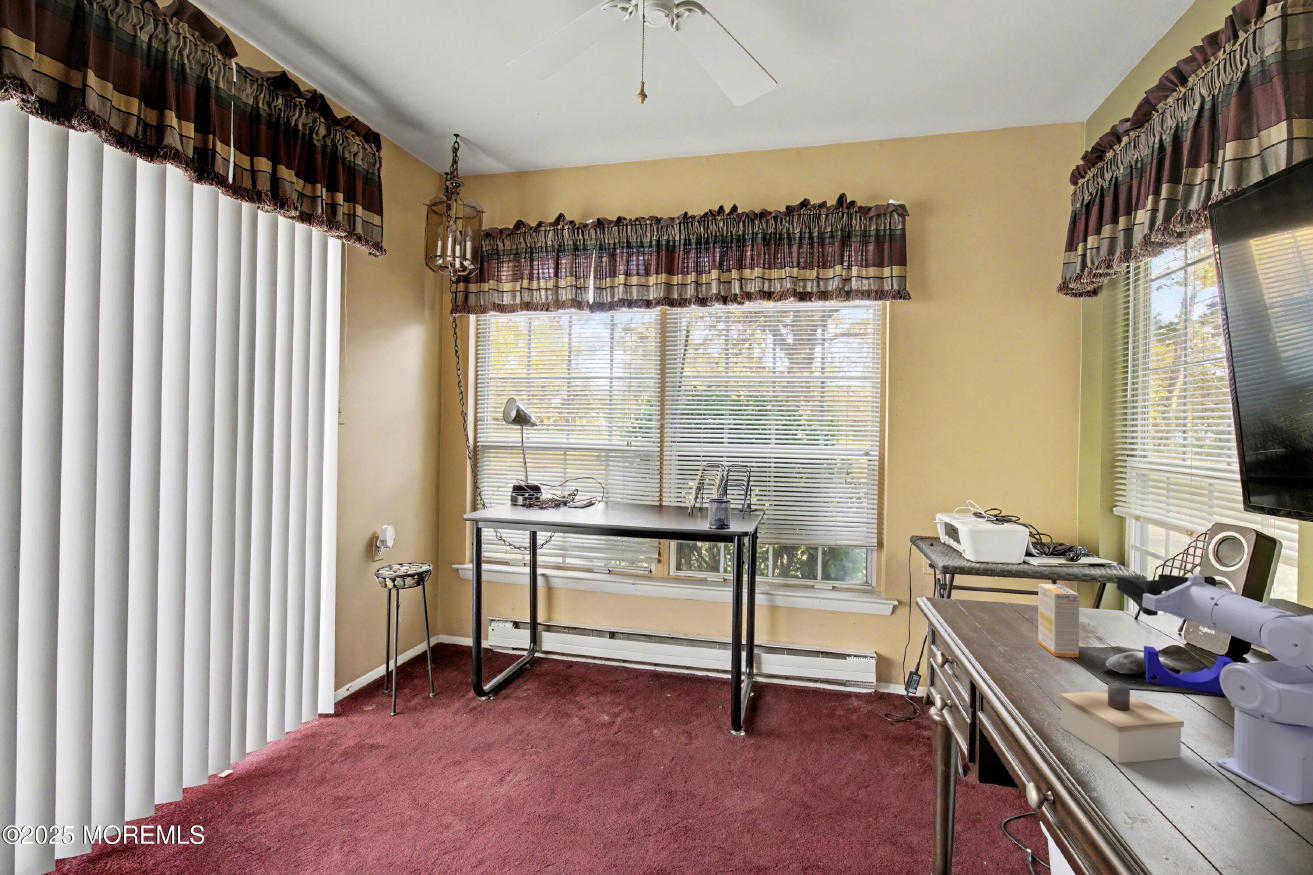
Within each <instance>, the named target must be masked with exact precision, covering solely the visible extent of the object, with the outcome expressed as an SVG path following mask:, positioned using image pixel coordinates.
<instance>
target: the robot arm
mask: <svg viewBox="0 0 1313 875" xmlns="http://www.w3.org/2000/svg"><path fill="white" fill-rule="evenodd" d="M1157 577H1158V578H1157V579H1150V580H1144V579H1137V578H1132V577H1128V576H1117V581H1116V589H1117V590H1118V591H1119V592H1121V593H1123V594H1124V595H1125V596H1126V597H1128V598H1129V599H1131V601H1133V602H1134V604H1136V605H1137V606H1138V608H1139V609H1140V611H1141V612H1142V614H1144V615H1145V616H1148V617H1149V616H1150V617H1154V616H1158V614H1159V612H1163V613H1166V614H1169V615H1172V616H1175V617H1178V618H1181V619H1183V620H1187V621H1189V622H1195V623H1199V624H1201V625H1203V626H1206V627H1209V628H1211V629H1214V630H1217V631H1219V632H1222V633H1223V634H1224V633H1225V634H1227V635H1230V636H1232V637H1234V638H1237V639H1239V640H1243V641H1245V642H1248V643H1250V644H1253V645H1255V646H1258V647H1262V648H1264V649H1265V650H1266V651H1267V652H1268V654H1270V655H1271V656H1272V657H1273V658H1275V659H1276V660H1275V661H1274V660H1273V661H1257V662H1246V663H1245V662H1234V663H1230V664H1228V665H1226V666H1225V667H1224V668H1223V669H1222V670H1221V673H1220V685H1221V688H1222V690H1223V692H1224V694H1223V695H1224V696H1225V697H1226V698H1227V699H1228V700H1229V702H1230V706H1231V707H1232V708H1234V722H1233V723H1234V730H1233V732H1234V734H1233V739H1234V741H1233V757H1229V758H1228V757H1227V758H1220V759H1219V758H1217V759H1215V764H1216V765H1218V766H1220V767H1222V768H1224V769H1226V770H1228V771H1230V772H1232V773H1234V774H1235V775H1237V776H1238V777H1241V778H1242V779H1245V780H1247V781H1249V782H1251V783H1253V784H1255V785H1256V786H1258V787H1260V788H1262V789H1264V790H1266V791H1267V792H1270V793H1272V795H1273V794H1274V795H1275V796H1276V797H1279V798H1281V799H1283V800H1285V801H1286V802H1288V803H1290V802H1291V803H1290V804H1294V805H1303V804H1310V803H1311V804H1312V803H1313V614H1306V615H1302V616H1299V615H1298V614H1297V613H1293V612H1290V611H1287V610H1284V609H1282V608H1278V607H1275V606H1273V605H1270V604H1268V603H1264V602H1261V601H1257V600H1256V599H1252V598H1250V597H1249V598H1248V597H1245V596H1243V595H1240V594H1239V592H1238V591H1235V590H1232V589H1228V588H1227V587H1226V588H1225V587H1222V588H1220V587H1217V579H1216V578H1215V577H1214V576H1212V575H1210V576H1209V575H1208V576H1204V575H1201V574H1198V573H1197V574H1195V573H1194V574H1189V576H1184V575H1183V576H1182V575H1175V574H1174V575H1173V574H1168V573H1160V574H1158V576H1157ZM1163 591H1165V592H1163Z"/></svg>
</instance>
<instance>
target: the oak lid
mask: <svg viewBox="0 0 1313 875" xmlns="http://www.w3.org/2000/svg"><path fill="white" fill-rule="evenodd" d="M1059 700H1061V701H1062V700H1063V701H1064V702H1066V703H1068V704H1070V705H1071V706H1073V707H1075V708H1077V709H1078V710H1080V711H1082V712H1084V713H1085V714H1087V715H1089V716H1091V717H1093V718H1094V719H1096V720H1098V721H1100V722H1101V723H1103V724H1105V725H1107V726H1108V727H1110V728H1112V729H1114V730H1115V731H1117V732H1130V731H1142V730H1154V729H1165V728H1177V727H1181V728H1184V727H1185V726H1184V725H1185V722H1184V720H1182V719H1180V718H1177V717H1175V716H1173V715H1171V714H1169V713H1168V712H1166V711H1163V710H1162V709H1159V708H1158V707H1155V706H1153V705H1151V704H1149V703H1147V702H1145V701H1143V700H1141V699H1139V698H1136V697H1134V696H1133V695H1131V689H1130V687H1128V686H1126V685H1123V684H1120V683H1112V682H1111V683H1108V684H1107V690H1106V689H1105V690H1093V691H1080V692H1066V693H1059Z"/></svg>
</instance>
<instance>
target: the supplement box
mask: <svg viewBox="0 0 1313 875" xmlns="http://www.w3.org/2000/svg"><path fill="white" fill-rule="evenodd" d="M1037 591H1038V599H1037V600H1038V602H1037V603H1038V605H1037V606H1038V608H1037V610H1038V613H1037V614H1038V615H1037V616H1038V617H1037V619H1038V620H1037V621H1038V623H1037V624H1038V626H1037V627H1038V630H1037V631H1038V633H1037V635H1038V636H1037V638H1038V639H1037V640H1038V641H1037V644H1040V646H1041V647H1042V648H1044V649H1046V650H1047V651H1048V652H1049V653H1051V654H1052V655H1053V656H1054V657H1059V658H1061V657H1062V658H1075V657H1077V658H1079V656H1080V594H1079V593H1077V592H1075V591H1074V590H1071V589H1070V588H1068V587H1067V586H1064V585H1062V584H1056V583H1055V584H1054V583H1038V590H1037ZM1077 658H1076V659H1077Z"/></svg>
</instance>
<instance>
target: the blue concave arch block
mask: <svg viewBox="0 0 1313 875" xmlns="http://www.w3.org/2000/svg"><path fill="white" fill-rule="evenodd" d="M1144 662H1145V666H1146V675H1145V677H1146V680H1147V681H1146V680H1145V681H1146V682H1147V683H1148V682H1151V683H1150V684H1154V683H1155V684H1156V685H1163V686H1168V687H1174V688H1180V689H1186V690H1187V689H1188V690H1193V691H1194V690H1195V691H1199V692H1200V691H1201V692H1206V693H1211V694H1212V693H1214V694H1220V695H1225V694H1224V692H1223V690H1222V688H1221V685H1220V673H1221V670H1222V669H1223V668H1224V667H1225V666H1226V665H1228V664H1230V663H1235V662H1234V661H1233V659H1231V658H1230V657H1229V656H1221V655H1217V658H1216V662H1215V664H1214V665H1213V667H1212V668H1207V667H1205V668H1203V669H1202V670H1200V671H1195V672H1181V673H1182V674H1179V673H1176V672H1173V671H1172V670H1170V669H1168V668H1167V667H1165V665H1163V664H1162V662H1161V660H1160V656H1159V652H1158V651H1157V649H1156V647H1154V646H1147V645H1144V646H1143V663H1144ZM1155 676H1157V679H1156V681H1153V680H1152V679H1151V677H1155Z"/></svg>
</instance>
